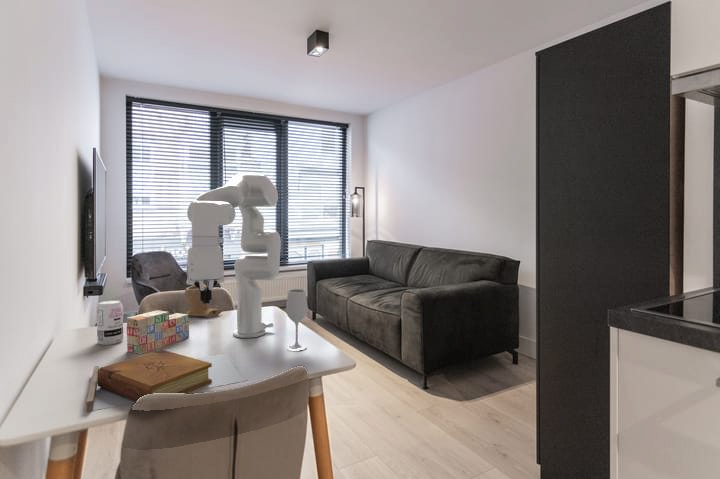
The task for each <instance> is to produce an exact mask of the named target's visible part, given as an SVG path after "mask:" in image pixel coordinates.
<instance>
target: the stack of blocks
mask: <svg viewBox="0 0 720 479" xmlns="http://www.w3.org/2000/svg"><path fill="white" fill-rule="evenodd" d="M189 316H190V315H188V314H186V313H179V312H176V313H173V314H170V312H169V311H164V310H157V309H156V310H153V311H148V312H145V313H140V314H137V315H133V316H128V317H126V338H127V339H126V342H127V344H126V345H127V352H128V353H133V354H138V355H141V354H145V353H147V352H148V353H149V352H150V351H151V352H152V351H154V350H156V349H159V348H163V347H166V346H168V345H170V344H174V343H176V342H177V343H178V342H180V341H182V340H186V339H189V338H190V321H189V319H190V317H189Z"/></svg>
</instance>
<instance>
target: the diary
mask: <svg viewBox="0 0 720 479" xmlns="http://www.w3.org/2000/svg"><path fill="white" fill-rule="evenodd" d="M209 367H212V363H209V362H205V361H201V360H198V359H196V358H194V357H190V356H186V355H184V354H179V353H176V352H172V351H168V350H165V349H158V350H155V351H151V352H148V353H144V354H142V355H141V354H140V355H139V356H136V357H135V356H134V357H131V358H128V359H125V360H121V361H119V362H115V363H112V364H108V365H106V366H102V367H99V370H98V372H97V374H98V386H99V387H101V388H103V389H106V390H108V391H111V392H113V393H116V394H118V395H121V396H123V397H126V398H128V399H130V400H133V401H135V402H136V401H137V400H138V399H139V398H140V397H142V396H144V395H147V394H153V393H186V394H188V393H191V391H192V392H194V391H193V390H195V389H198V388H200V387H203V386H205V385H207V384H210V383H212V379H209V378H208V368H209ZM136 403H137V402H136Z"/></svg>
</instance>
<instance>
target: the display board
mask: <svg viewBox="0 0 720 479" xmlns="http://www.w3.org/2000/svg"><path fill="white" fill-rule="evenodd" d="M195 359H198V360H201V361H205V362H209V363H212V367H209V368H208V378H209V379H212V383H210V384H207V385H205V386H203V387H200V388H198V389H195V390H193V391H191V392H195V391H202V390H206V389H211V388H212V389H213V388H217V387H222V386H227V385H231V384H237V383H241V382H247V381H248V379H247V377H246V376H245V375H244V373H243V372H242V371H241V370H240V369H239V367H238V366H237V364H236V363H235V361H234V360H233V358H232V357H231V356H230V355H229V354H228V353H224V354H223V353H222V354H217V355H211V356H202V357H197V358H195ZM99 369H100V366H99V365H95V366H93V370H92V375H91V378H90V379H91V380H90V384H89V390H88V394H87V399H86V411H87V412H89V413H90V412H95V411H98V410H99V411H100V410H105V409H111V408H115V407H120V406H126V405H130V404H136V403H135V401H133V400H130V399H128V398H126V397H123V396H121V395H118V394H116V393H113V392H111V391H108V390H106V389H103V388H101V387H99V386H98V374H97V372H98V370H99ZM191 392H190V393H191Z"/></svg>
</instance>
